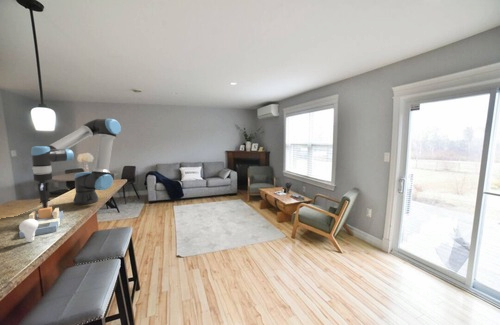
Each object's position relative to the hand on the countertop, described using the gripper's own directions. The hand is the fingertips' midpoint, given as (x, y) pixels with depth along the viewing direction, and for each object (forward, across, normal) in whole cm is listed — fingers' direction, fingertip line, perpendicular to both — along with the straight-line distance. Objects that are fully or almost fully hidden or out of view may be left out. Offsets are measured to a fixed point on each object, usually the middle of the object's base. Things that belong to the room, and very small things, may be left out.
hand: (46, 212), depth 121 cm
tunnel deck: (+5, +9, 0) cm, 10 cm away
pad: (+5, +12, 0) cm, 13 cm away
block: (+2, +3, 0) cm, 4 cm away
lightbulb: (+5, +31, -1) cm, 31 cm away
